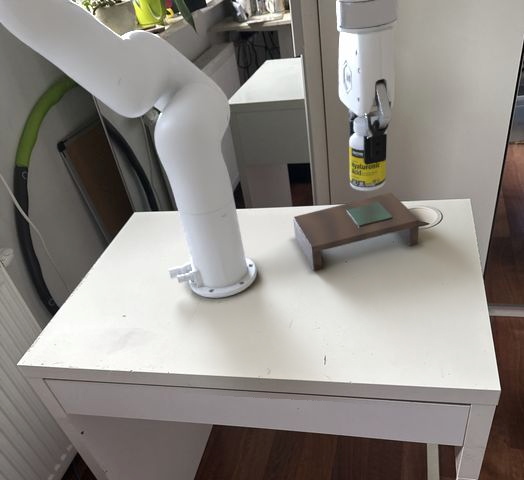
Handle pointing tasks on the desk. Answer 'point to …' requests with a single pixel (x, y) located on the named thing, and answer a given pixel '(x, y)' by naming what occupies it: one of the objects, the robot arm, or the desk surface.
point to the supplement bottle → (361, 173)
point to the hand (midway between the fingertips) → (367, 153)
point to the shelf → (353, 225)
